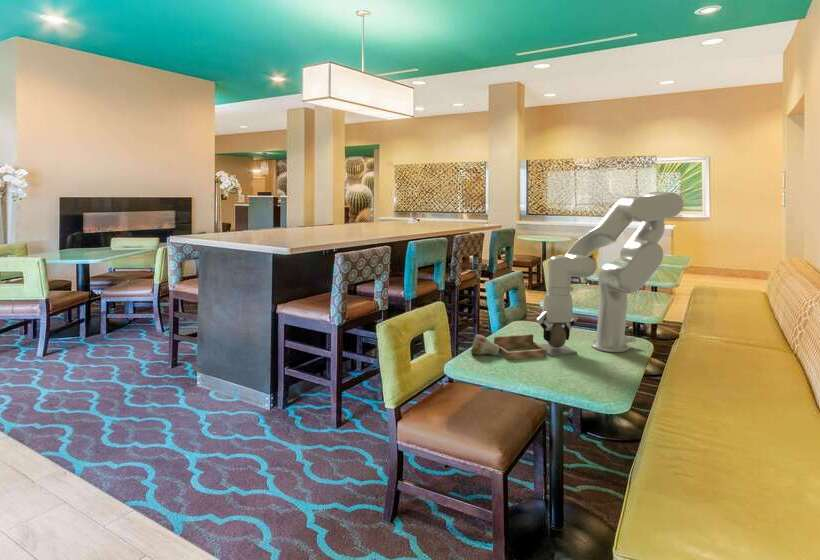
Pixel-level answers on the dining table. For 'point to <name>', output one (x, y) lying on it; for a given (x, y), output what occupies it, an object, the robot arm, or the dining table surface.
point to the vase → (557, 335)
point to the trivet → (558, 350)
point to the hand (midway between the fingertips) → (556, 339)
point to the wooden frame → (519, 347)
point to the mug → (484, 346)
